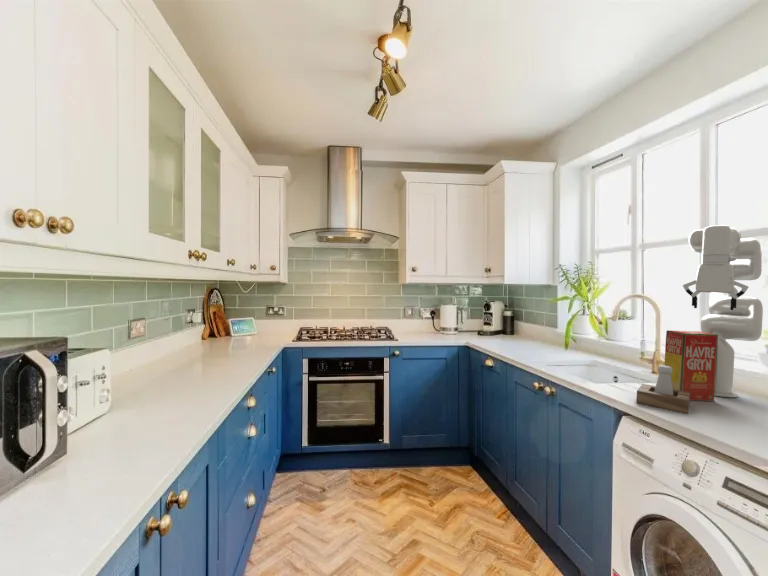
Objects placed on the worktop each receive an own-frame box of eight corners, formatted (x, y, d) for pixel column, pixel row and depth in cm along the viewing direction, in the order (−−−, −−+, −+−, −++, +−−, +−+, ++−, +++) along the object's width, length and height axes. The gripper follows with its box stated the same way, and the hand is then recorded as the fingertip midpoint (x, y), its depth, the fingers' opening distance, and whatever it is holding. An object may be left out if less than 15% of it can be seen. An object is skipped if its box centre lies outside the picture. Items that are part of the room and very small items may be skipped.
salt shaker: (677, 405, 128) (679, 368, 127) (658, 404, 129) (660, 367, 129) (667, 400, 133) (669, 364, 133) (650, 399, 135) (651, 363, 134)
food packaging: (680, 400, 136) (683, 332, 135) (661, 393, 145) (664, 329, 145) (716, 401, 136) (719, 334, 136) (694, 394, 145) (697, 330, 145)
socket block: (641, 396, 141) (642, 383, 141) (689, 405, 131) (690, 392, 131) (636, 404, 130) (636, 390, 130) (687, 415, 121) (688, 400, 121)
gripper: (749, 261, 128) (746, 310, 128) (684, 261, 139) (682, 307, 139) (750, 259, 122) (748, 311, 122) (683, 260, 134) (681, 307, 134)
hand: (713, 309), depth 131 cm, fingers open, 9 cm apart
